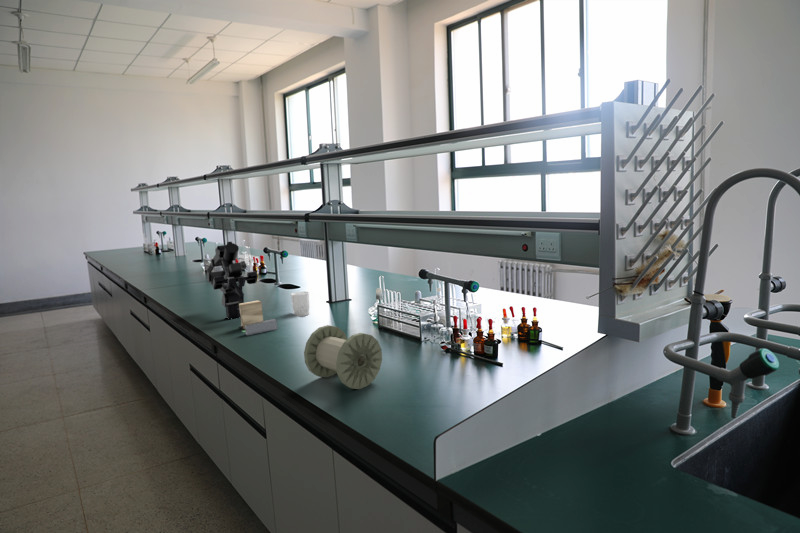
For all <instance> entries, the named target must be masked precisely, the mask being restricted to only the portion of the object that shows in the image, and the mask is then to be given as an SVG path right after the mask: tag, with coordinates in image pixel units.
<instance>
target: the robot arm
mask: <svg viewBox="0 0 800 533" xmlns="http://www.w3.org/2000/svg"><path fill="white" fill-rule="evenodd" d="M239 249H240V248H239V245H238V244H236V243H233V241H227V242H226V244H223V245H217V246H216V248H215V250H214V251H215V255H214V256H213V258H211V259H210V265H209V266H208V267H207V269H206V280H207V282H208V283H209V284H210V285H211V286H212V288H213V290H220V292H221V293H222V297H221V305H222V307H224V308H225V312H226V317H228V318H229V319H228V320H231V318H232V320H235V319H236V318H237V319H240V318H239V317H240V308H239V304H240V303H245V299H244V298H245V293H244V292H243V287H245V285H246V283H247V284H248V285H252V284H253V285H254V284H256V283H257V282H258V277H259V273H258V272H257V271H256V270H255V271H249V272H247V273H246V275H243V270H246V269H247V263H246V261H245V260H242V261H240V262H236V260H237V259H238V254H239V251H240V250H239ZM215 267H221V268H222V270H218V271H213V270H214V268H215Z"/></svg>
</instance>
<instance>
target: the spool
mask: <svg viewBox="0 0 800 533" xmlns="http://www.w3.org/2000/svg"><path fill="white" fill-rule="evenodd" d="M303 357H304V364H305V365H306V368H307V370H308V371H309V372H310V373H312V374H313V375H314V376H317V377H319V378H329V377H331V376H335V375H337V376H338V379H339V380H340V382H341V383H342V384H343V385H345V387H347V388H350V389H353V390H354V389H356V390H361V389H363V388H365V387H368V386H369V385H371V383H372V382H374V380H375V379H376V377H377V376H378V374H379V372H380V370H381V366H382V361H383V354H382V348H381V345H380V343H379V341H378V339H377V338H375V337H374V336H373V335H372V334H367V333H363V332H359V333H355V334H352V335H350V336H349V337H347V335H346V333H345V332H344V331H343V330H342V329H341V328H340V327H337V326H335V325H334V326H333V325H328V324H327V325H324V326H320V327H318V328H316V329H315V330H314V331H313V332H312V333H311V334H310V335H309V338H308V339H307V340H306V343H305V346H304V350H303Z"/></svg>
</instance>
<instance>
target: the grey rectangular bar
mask: <svg viewBox="0 0 800 533" xmlns="http://www.w3.org/2000/svg"><path fill="white" fill-rule="evenodd" d="M277 322H278V321H277V319H275V318H272V319H267V320H263V321H261V322H256V323H251V324H246V325H245V329H244V330H245V332H244V333H245V335H246V336H253V335H257V334H261V333H266V332H271V331H276V330H278V323H277Z"/></svg>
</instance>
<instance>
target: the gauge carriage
mask: <svg viewBox="0 0 800 533" xmlns="http://www.w3.org/2000/svg"><path fill="white" fill-rule="evenodd" d="M239 308H240V317H241V318H240V326H238V327H237V329H243V330H245V325H246V324H251V323H256V322H261V321H264V315H263V304H262V302H261V301H260V300H253V301H248V302H247V301H245V302H244V303H240V304H239Z"/></svg>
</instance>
